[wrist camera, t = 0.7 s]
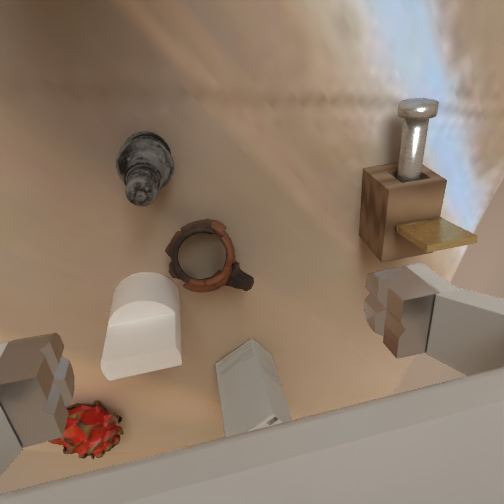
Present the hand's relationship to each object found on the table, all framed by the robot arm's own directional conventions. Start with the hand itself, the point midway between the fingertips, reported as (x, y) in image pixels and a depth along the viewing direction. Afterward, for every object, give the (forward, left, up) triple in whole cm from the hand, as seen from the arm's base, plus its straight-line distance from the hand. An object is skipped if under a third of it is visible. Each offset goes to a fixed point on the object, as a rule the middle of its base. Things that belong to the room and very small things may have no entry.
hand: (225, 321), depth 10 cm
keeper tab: (+18, +24, -26) cm, 40 cm away
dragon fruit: (+48, -26, -37) cm, 65 cm away
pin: (+13, +24, -34) cm, 44 cm away
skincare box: (+43, +1, -37) cm, 56 cm away
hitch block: (+18, +24, -36) cm, 47 cm away
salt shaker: (+7, -6, -37) cm, 38 cm away
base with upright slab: (+27, -11, -37) cm, 47 cm away
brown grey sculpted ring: (+21, -1, -37) cm, 42 cm away
